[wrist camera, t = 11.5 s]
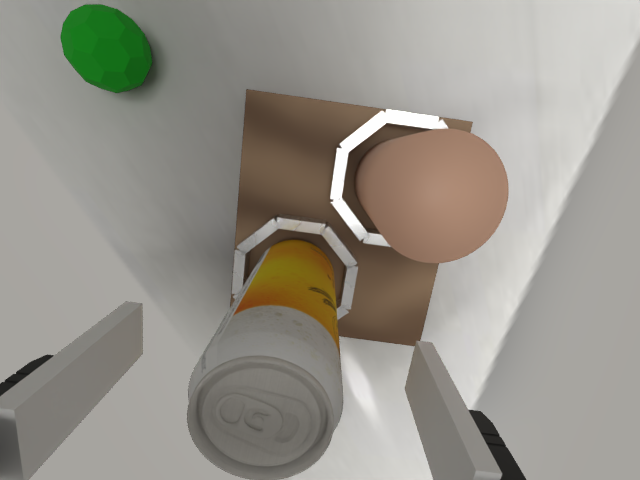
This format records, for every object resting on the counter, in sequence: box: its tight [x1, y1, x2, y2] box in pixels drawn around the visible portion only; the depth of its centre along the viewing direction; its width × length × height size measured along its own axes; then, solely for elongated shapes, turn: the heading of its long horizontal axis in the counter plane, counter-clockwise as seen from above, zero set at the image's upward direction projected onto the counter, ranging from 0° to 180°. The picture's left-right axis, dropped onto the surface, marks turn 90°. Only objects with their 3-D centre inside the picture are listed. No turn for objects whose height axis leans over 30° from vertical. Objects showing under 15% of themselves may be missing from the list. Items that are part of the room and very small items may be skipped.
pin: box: [354, 128, 508, 263], centre depth 20 cm, size 6×6×10 cm
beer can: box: [187, 240, 343, 480], centre depth 19 cm, size 6×6×15 cm
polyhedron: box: [61, 4, 152, 93], centre depth 22 cm, size 5×5×5 cm
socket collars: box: [232, 109, 448, 320], centre depth 25 cm, size 17×16×2 cm
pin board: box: [230, 89, 473, 346], centre depth 26 cm, size 18×16×2 cm
